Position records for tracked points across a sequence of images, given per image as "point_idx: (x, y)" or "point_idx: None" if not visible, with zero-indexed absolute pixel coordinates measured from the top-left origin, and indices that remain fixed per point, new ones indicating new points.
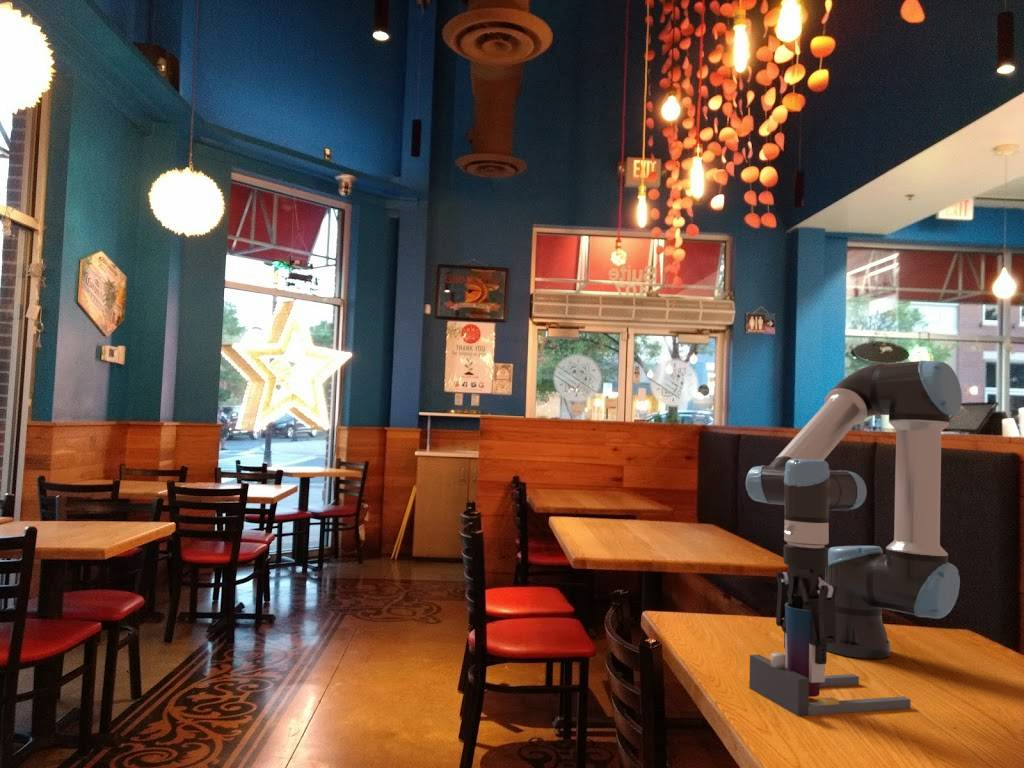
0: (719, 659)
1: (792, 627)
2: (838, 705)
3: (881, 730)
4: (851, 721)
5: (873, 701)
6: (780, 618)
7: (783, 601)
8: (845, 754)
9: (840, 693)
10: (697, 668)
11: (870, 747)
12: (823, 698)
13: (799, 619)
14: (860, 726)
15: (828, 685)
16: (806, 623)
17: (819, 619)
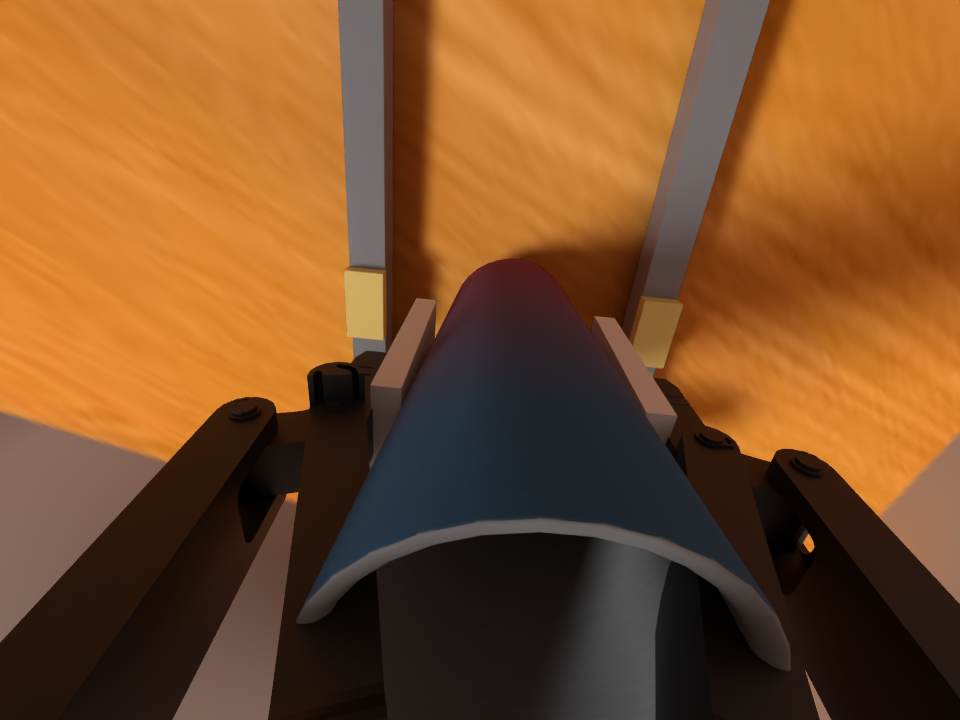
0: (9, 294)
1: (531, 607)
2: (675, 298)
3: (850, 266)
4: (738, 303)
5: (734, 102)
6: (267, 526)
7: (182, 674)
8: (864, 497)
9: (491, 68)
10: (151, 436)
11: (890, 410)
12: (638, 344)
13: (604, 679)
14: (783, 310)
15: (391, 44)
16: (643, 629)
17: (827, 700)
